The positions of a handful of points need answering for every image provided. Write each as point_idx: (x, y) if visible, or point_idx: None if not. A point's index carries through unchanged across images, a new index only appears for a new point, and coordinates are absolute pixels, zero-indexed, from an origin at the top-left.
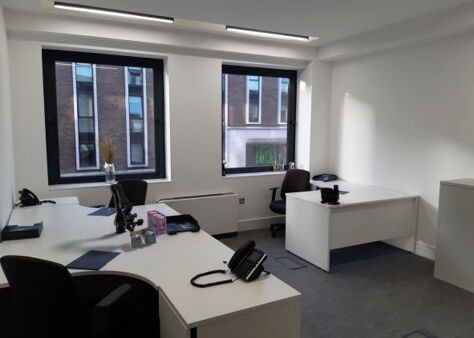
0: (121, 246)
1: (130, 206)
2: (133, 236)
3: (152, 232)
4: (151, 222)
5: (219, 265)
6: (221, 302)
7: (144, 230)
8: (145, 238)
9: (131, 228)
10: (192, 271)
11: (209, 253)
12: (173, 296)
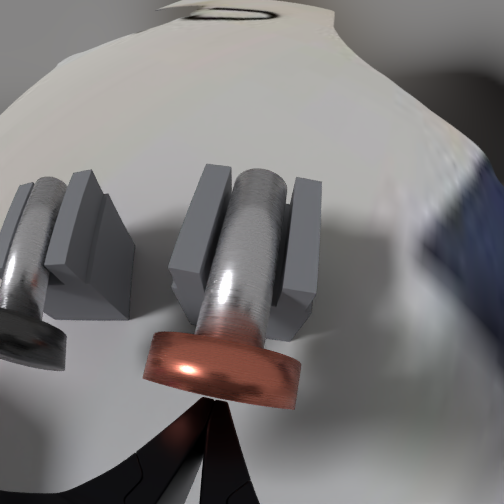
0: (373, 404)
1: None
2: (302, 227)
3: (38, 179)
4: None
5: (167, 25)
6: (276, 3)
7: (12, 316)
8: (107, 277)
9: (203, 495)
10: (237, 24)
11: (103, 57)
12: (328, 20)
